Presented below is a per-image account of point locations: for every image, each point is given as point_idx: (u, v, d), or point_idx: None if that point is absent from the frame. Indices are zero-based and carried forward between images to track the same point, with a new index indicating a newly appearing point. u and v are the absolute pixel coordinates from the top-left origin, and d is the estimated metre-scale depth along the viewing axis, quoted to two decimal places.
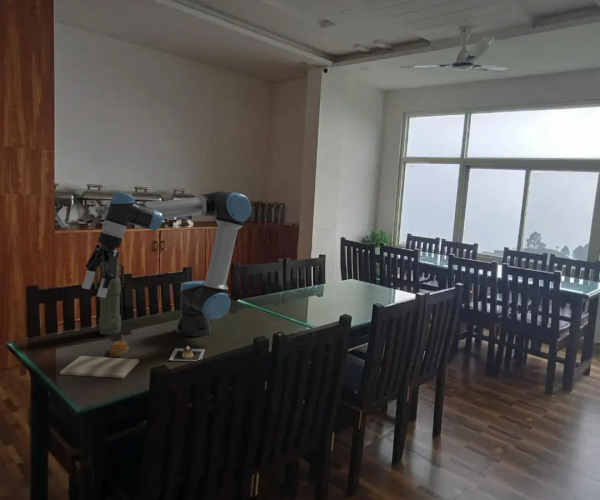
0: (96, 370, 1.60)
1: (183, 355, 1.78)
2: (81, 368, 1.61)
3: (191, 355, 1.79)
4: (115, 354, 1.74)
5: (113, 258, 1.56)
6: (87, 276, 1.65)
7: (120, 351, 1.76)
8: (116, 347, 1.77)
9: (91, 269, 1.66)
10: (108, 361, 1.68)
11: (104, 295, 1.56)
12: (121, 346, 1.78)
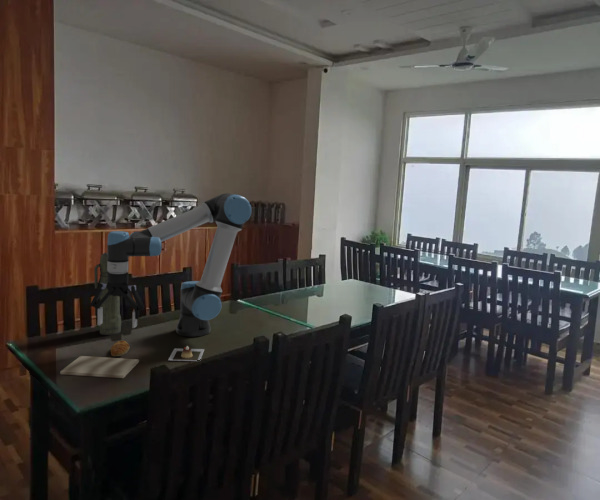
0: (96, 370, 1.60)
1: (182, 355, 1.78)
2: (81, 368, 1.61)
3: (190, 355, 1.79)
4: (116, 354, 1.74)
5: (136, 292, 1.75)
6: (99, 313, 1.76)
7: (121, 351, 1.76)
8: (117, 347, 1.77)
9: (99, 306, 1.77)
10: (108, 361, 1.68)
11: (136, 324, 1.78)
12: (122, 346, 1.78)
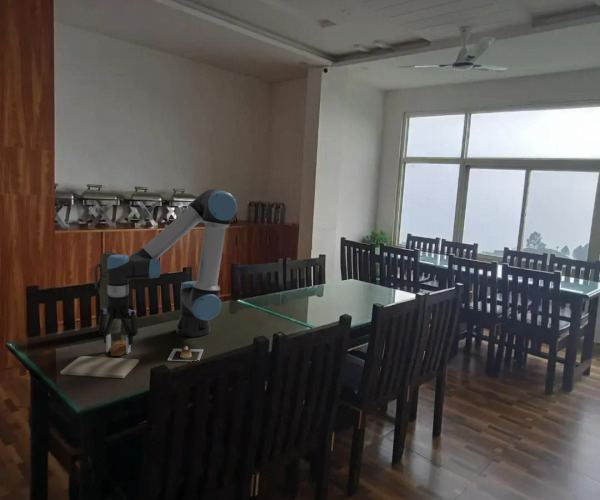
0: (96, 370, 1.60)
1: (181, 355, 1.78)
2: (81, 368, 1.61)
3: (189, 355, 1.79)
4: (116, 354, 1.75)
5: (134, 318, 1.77)
6: (108, 341, 1.78)
7: (121, 350, 1.76)
8: (117, 346, 1.77)
9: (107, 333, 1.78)
10: (108, 361, 1.68)
11: (130, 349, 1.80)
12: (122, 345, 1.79)
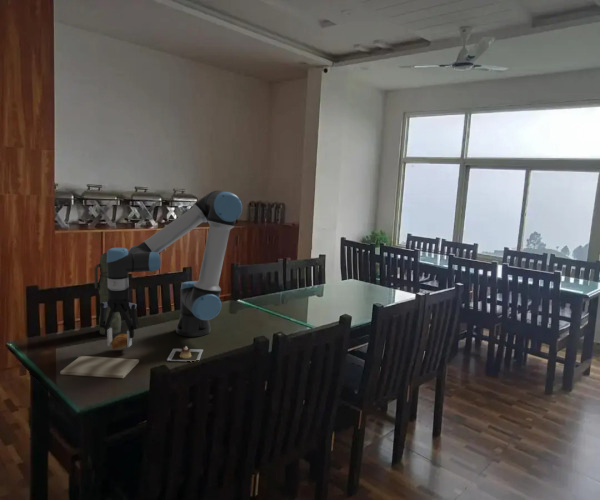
0: (96, 370, 1.60)
1: (181, 355, 1.78)
2: (81, 368, 1.61)
3: (189, 355, 1.79)
4: (117, 347, 1.75)
5: (135, 311, 1.77)
6: (109, 334, 1.78)
7: (122, 344, 1.76)
8: (118, 340, 1.77)
9: (108, 327, 1.78)
10: (108, 361, 1.68)
11: (131, 343, 1.80)
12: (123, 339, 1.78)
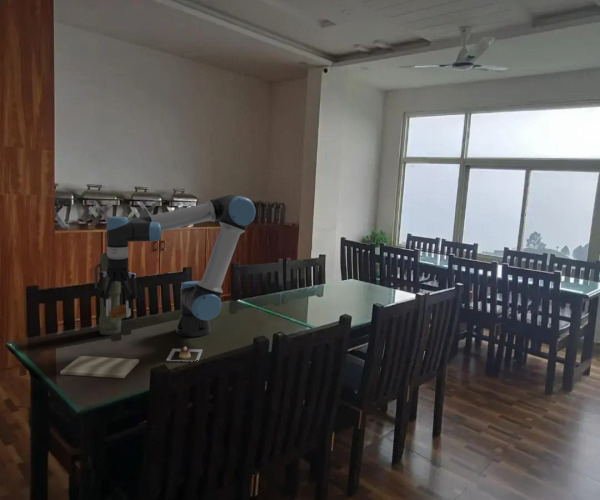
0: (96, 370, 1.60)
1: (180, 355, 1.78)
2: (81, 368, 1.61)
3: (188, 356, 1.78)
4: (116, 316, 1.73)
5: (134, 281, 1.75)
6: (108, 304, 1.76)
7: (121, 313, 1.74)
8: (117, 310, 1.75)
9: (107, 297, 1.76)
10: (108, 361, 1.68)
11: (130, 313, 1.78)
12: (122, 309, 1.76)
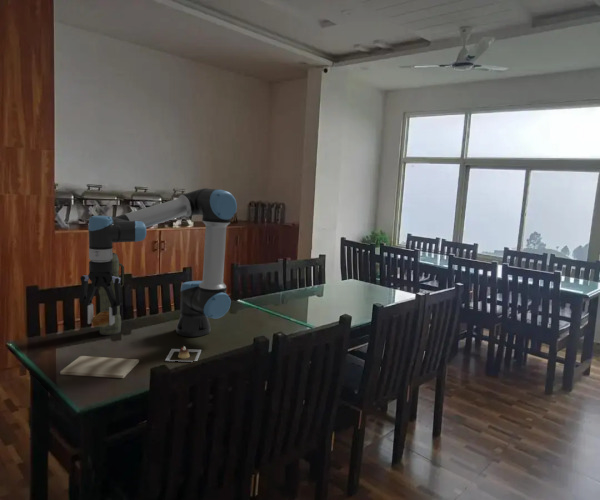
0: (96, 370, 1.60)
1: (179, 356, 1.78)
2: (81, 368, 1.61)
3: (187, 356, 1.78)
4: (98, 324, 1.59)
5: (118, 286, 1.61)
6: (90, 311, 1.62)
7: (104, 321, 1.60)
8: (100, 317, 1.61)
9: (89, 303, 1.62)
10: (108, 361, 1.68)
11: (114, 321, 1.64)
12: (105, 316, 1.62)
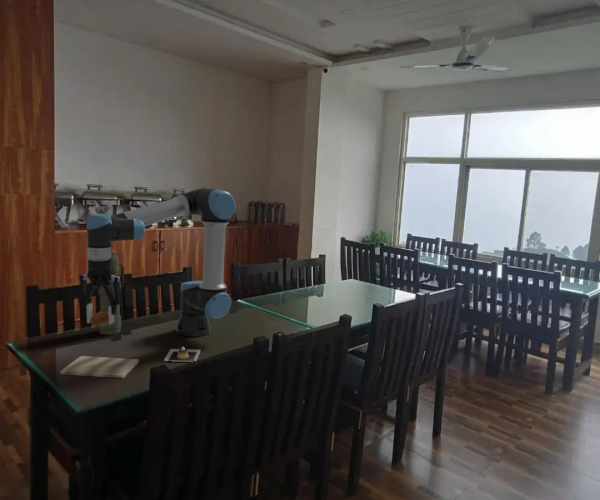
0: (96, 370, 1.60)
1: (178, 356, 1.77)
2: (81, 368, 1.61)
3: (186, 356, 1.78)
4: (97, 324, 1.57)
5: (118, 284, 1.60)
6: (89, 310, 1.61)
7: (103, 320, 1.59)
8: (99, 316, 1.60)
9: (88, 302, 1.61)
10: (108, 361, 1.68)
11: (113, 320, 1.63)
12: (105, 315, 1.61)
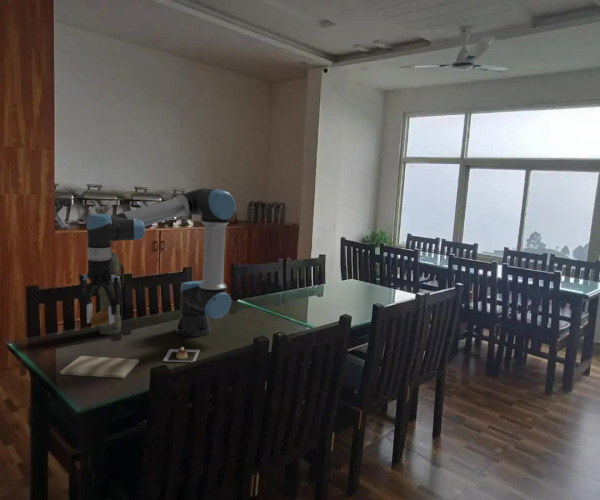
0: (96, 370, 1.60)
1: (177, 356, 1.77)
2: (81, 368, 1.61)
3: (185, 356, 1.78)
4: (97, 324, 1.57)
5: (118, 284, 1.60)
6: (89, 310, 1.61)
7: (103, 320, 1.59)
8: (99, 316, 1.60)
9: (88, 302, 1.61)
10: (108, 361, 1.68)
11: (113, 320, 1.63)
12: (105, 315, 1.61)
